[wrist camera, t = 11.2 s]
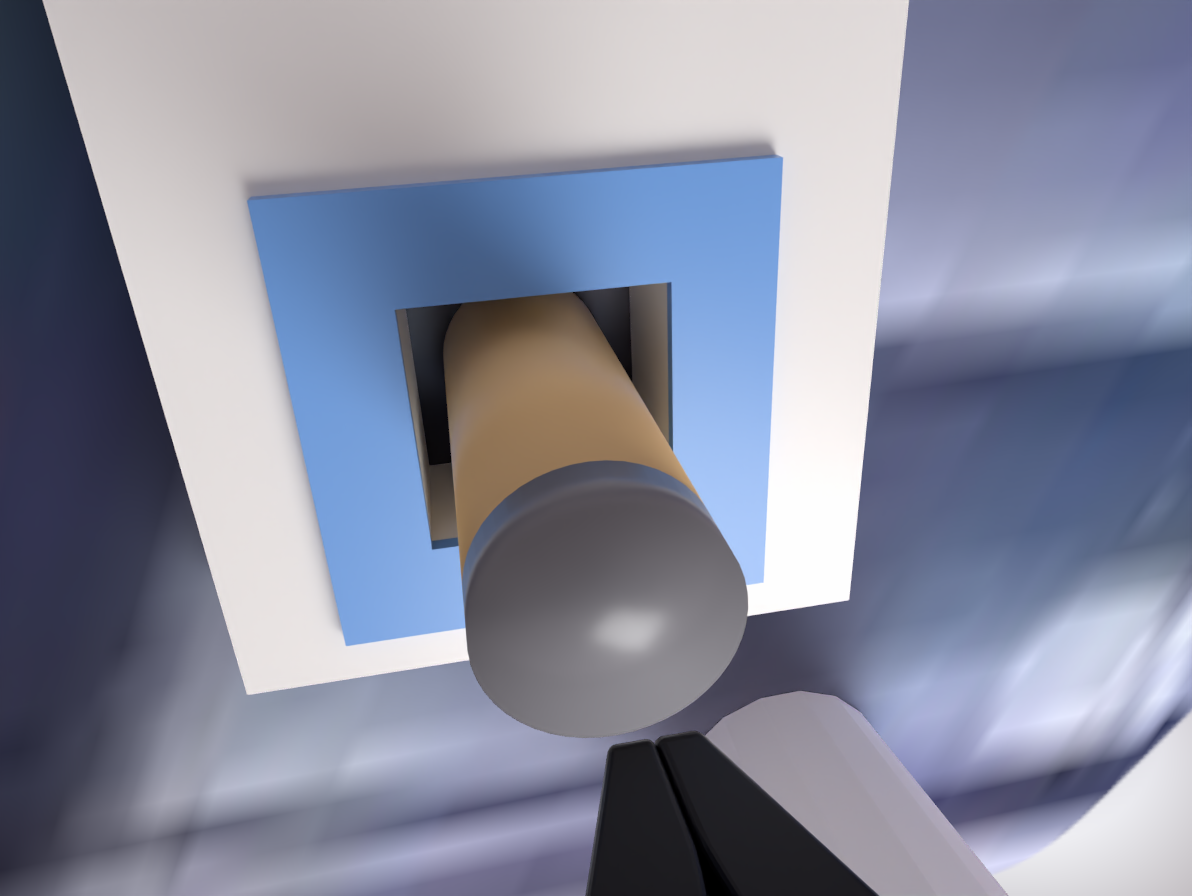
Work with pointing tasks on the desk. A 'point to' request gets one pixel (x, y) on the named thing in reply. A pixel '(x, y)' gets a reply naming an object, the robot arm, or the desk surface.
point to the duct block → (485, 269)
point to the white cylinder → (851, 794)
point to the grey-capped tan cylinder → (578, 529)
